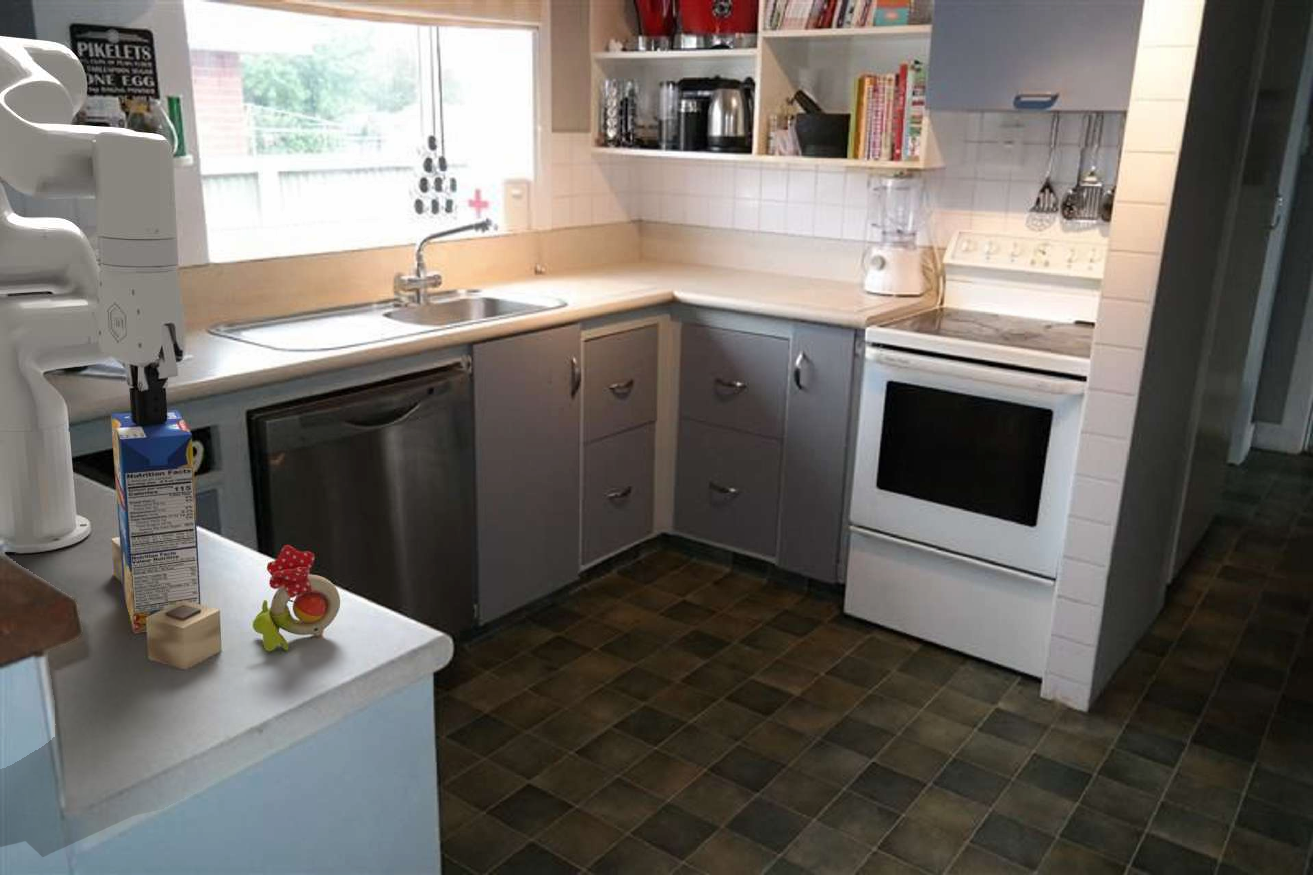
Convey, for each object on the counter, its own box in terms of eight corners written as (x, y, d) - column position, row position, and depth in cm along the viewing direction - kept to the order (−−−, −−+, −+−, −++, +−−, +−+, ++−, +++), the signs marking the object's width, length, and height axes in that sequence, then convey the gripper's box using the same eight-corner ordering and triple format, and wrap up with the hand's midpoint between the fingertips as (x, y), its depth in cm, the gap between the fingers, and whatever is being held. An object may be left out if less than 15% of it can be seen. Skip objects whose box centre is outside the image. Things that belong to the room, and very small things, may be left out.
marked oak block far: (113, 575, 131) (110, 536, 130) (156, 566, 134) (154, 528, 133) (127, 589, 128) (124, 549, 126) (170, 579, 131) (168, 540, 130)
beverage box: (134, 633, 117) (120, 439, 111) (123, 595, 126) (110, 413, 120) (201, 622, 120) (191, 434, 114) (186, 586, 129) (176, 409, 123)
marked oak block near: (148, 659, 112) (145, 614, 110) (185, 640, 116) (183, 597, 115) (185, 670, 110) (182, 625, 109) (221, 651, 114) (219, 607, 113)
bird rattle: (310, 640, 122) (232, 624, 117) (348, 552, 122) (272, 532, 117) (324, 665, 117) (243, 648, 112) (364, 573, 117) (285, 552, 112)
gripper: (68, 247, 114) (81, 414, 118) (141, 264, 105) (152, 443, 110) (137, 245, 119) (147, 404, 124) (212, 260, 111) (219, 431, 116)
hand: (149, 422), depth 117 cm, fingers closed
